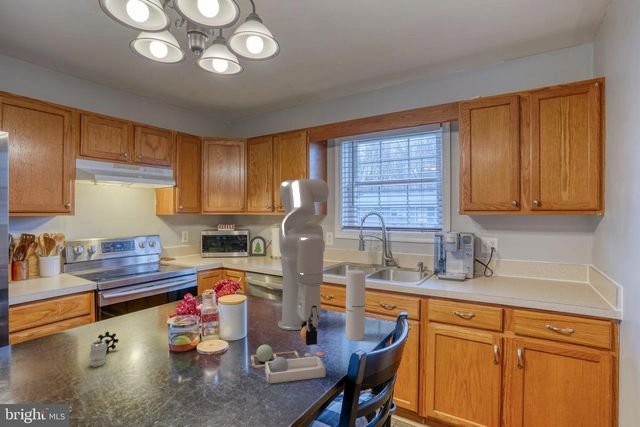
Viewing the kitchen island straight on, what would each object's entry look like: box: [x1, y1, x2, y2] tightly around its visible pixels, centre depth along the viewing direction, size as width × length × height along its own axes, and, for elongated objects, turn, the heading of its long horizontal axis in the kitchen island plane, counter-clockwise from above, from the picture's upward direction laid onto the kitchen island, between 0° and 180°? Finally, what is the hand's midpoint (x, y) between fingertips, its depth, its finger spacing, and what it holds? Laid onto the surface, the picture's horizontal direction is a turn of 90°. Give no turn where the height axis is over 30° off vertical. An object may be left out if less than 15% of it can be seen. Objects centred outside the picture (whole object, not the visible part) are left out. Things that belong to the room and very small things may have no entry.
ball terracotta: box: [300, 325, 318, 343], centre depth 97 cm, size 5×5×5 cm
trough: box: [264, 355, 326, 385], centre depth 96 cm, size 8×16×3 cm, turn 106°
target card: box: [304, 351, 326, 358], centre depth 109 cm, size 6×9×1 cm, turn 106°
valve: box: [89, 330, 119, 368], centre depth 104 cm, size 7×7×12 cm
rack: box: [250, 350, 301, 369], centre depth 104 cm, size 8×15×1 cm, turn 106°
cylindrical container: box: [344, 269, 367, 342], centre depth 126 cm, size 7×7×25 cm
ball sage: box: [255, 344, 274, 363], centre depth 103 cm, size 5×5×5 cm
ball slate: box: [271, 356, 288, 373], centre depth 95 cm, size 5×5×5 cm
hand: (308, 340), depth 97 cm, fingers closed on ball terracotta, 5 cm apart
